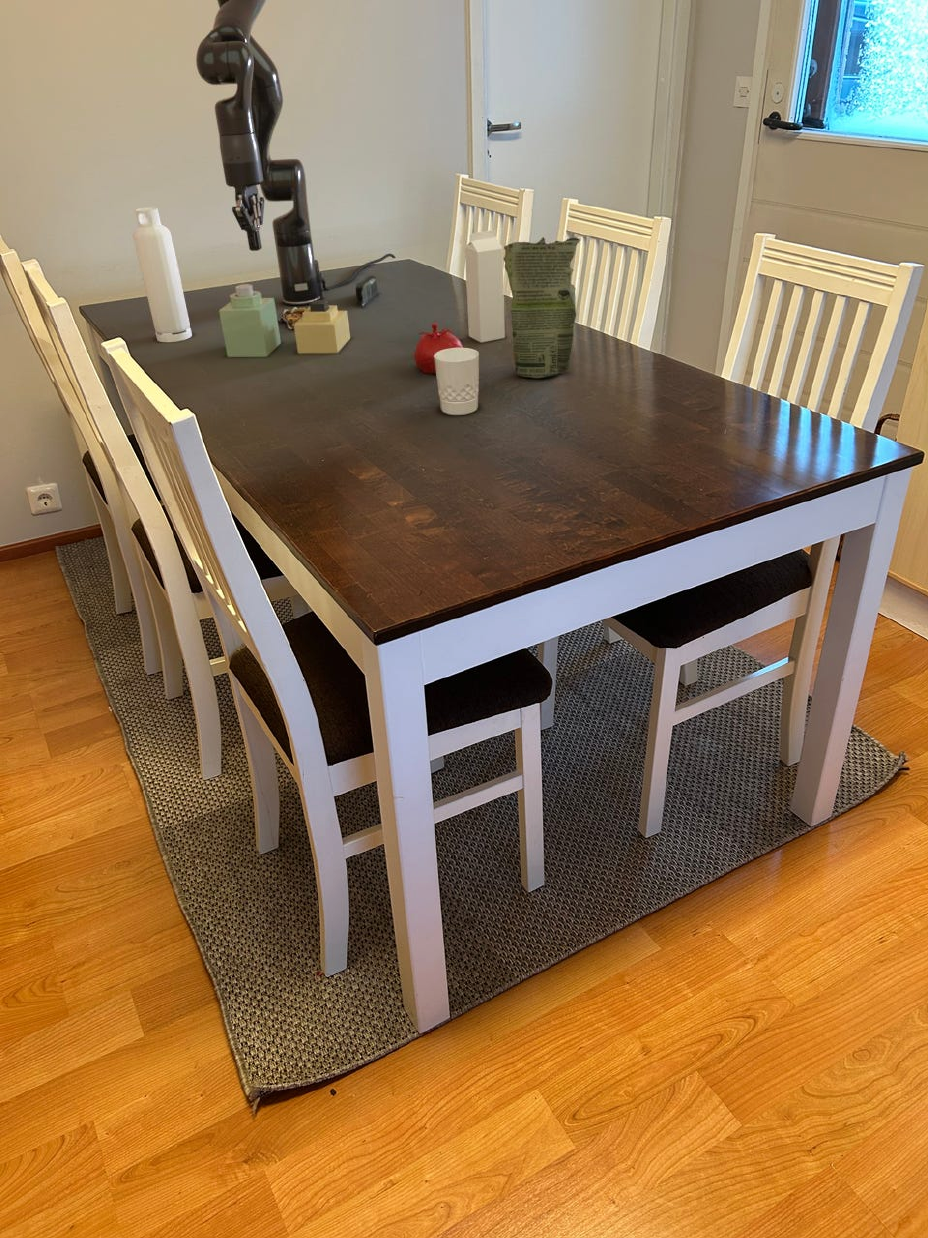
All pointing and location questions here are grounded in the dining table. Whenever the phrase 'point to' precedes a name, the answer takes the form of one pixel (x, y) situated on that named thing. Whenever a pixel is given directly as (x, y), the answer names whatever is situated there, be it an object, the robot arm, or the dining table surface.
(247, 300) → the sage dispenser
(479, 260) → the milk
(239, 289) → the round grey push button
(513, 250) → the pouch
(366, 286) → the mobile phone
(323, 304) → the charcoal square push button
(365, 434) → the dining table surface
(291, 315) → the barbecue chicken platter
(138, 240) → the bottle
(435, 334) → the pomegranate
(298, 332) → the block
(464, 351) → the white cup
